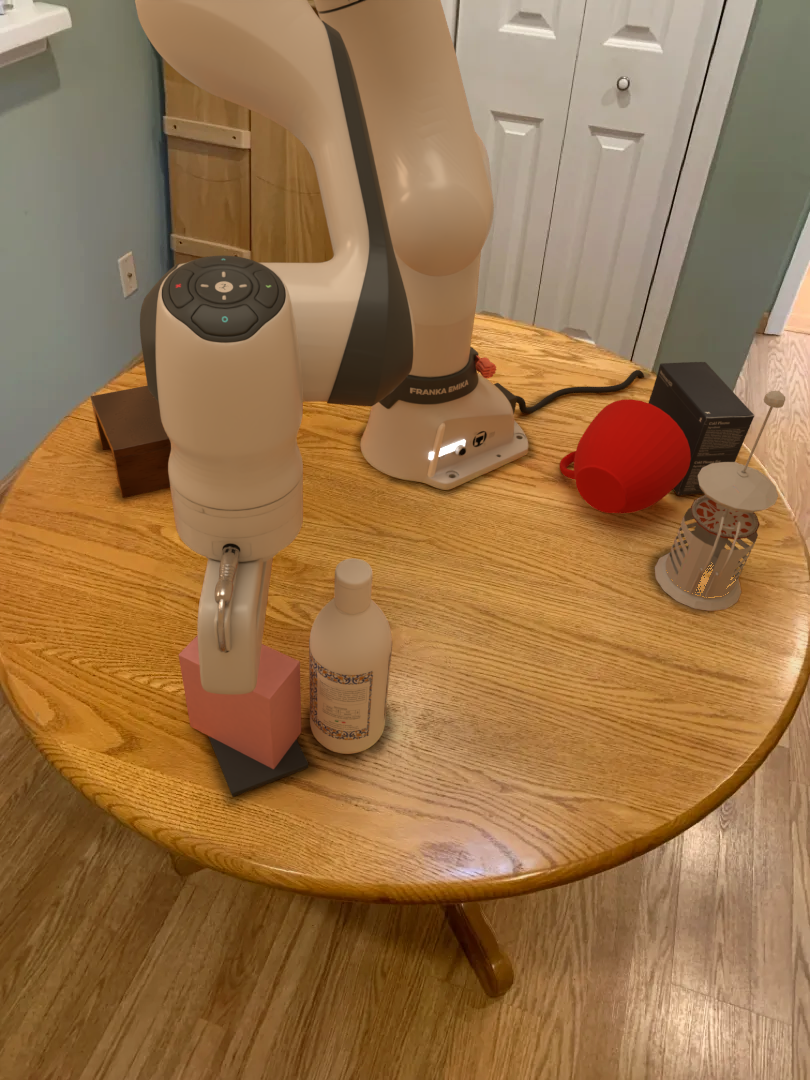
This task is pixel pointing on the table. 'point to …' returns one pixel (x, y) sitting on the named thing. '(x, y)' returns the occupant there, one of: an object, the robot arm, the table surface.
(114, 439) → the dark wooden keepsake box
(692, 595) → the french press
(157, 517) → the table surface
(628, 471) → the ceramic cup
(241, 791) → the mat
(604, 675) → the table surface
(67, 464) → the table surface
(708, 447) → the small box
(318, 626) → the bath foam
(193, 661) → the block
